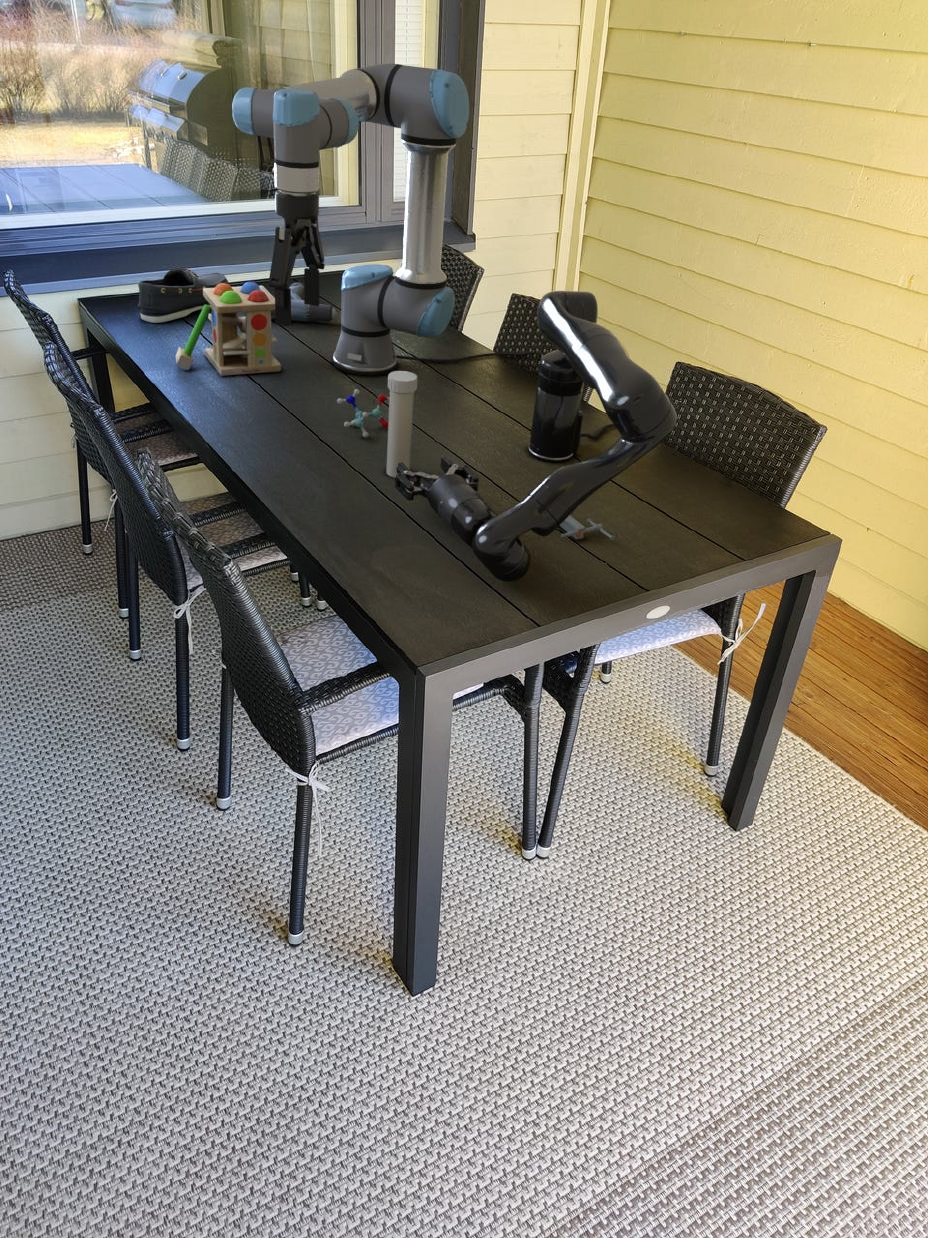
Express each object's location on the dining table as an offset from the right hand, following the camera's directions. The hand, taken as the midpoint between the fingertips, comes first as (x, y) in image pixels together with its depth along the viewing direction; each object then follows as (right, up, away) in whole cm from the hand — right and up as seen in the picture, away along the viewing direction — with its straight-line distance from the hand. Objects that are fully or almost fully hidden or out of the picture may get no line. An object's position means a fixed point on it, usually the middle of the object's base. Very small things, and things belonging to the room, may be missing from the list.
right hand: (421, 464), depth 179 cm
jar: (-5, 0, +12) cm, 13 cm away
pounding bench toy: (-48, +31, +51) cm, 77 cm away
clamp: (+27, -12, -2) cm, 29 cm away
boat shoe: (-66, +55, +83) cm, 120 cm away
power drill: (-35, +55, +88) cm, 109 cm away
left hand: (-23, +28, +2) cm, 36 cm away
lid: (-3, +16, +1) cm, 16 cm away
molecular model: (-14, +12, +27) cm, 33 cm away
